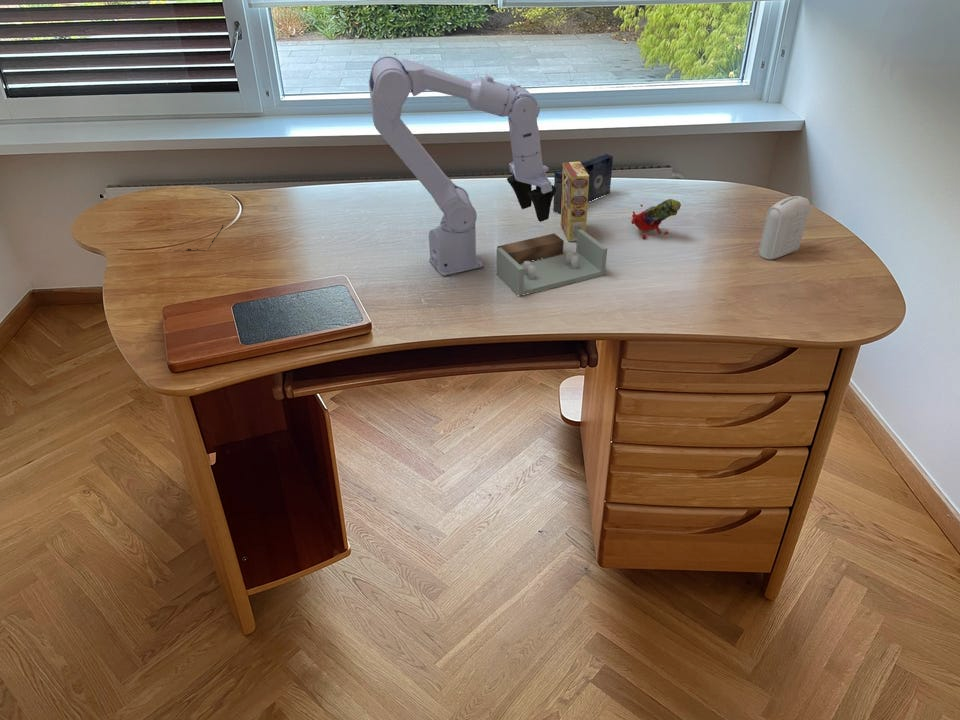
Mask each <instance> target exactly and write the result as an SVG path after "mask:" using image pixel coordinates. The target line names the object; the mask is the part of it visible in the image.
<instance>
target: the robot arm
mask: <svg viewBox="0 0 960 720" xmlns="http://www.w3.org/2000/svg"><path fill="white" fill-rule="evenodd" d="M400 60H401V61H400ZM400 60H399V59H398V58H397V57H395V56H389V55H386V56H381V57H380V58H378V59H376V61H375V62H374V63H373V64H372V66H371V71H370V75H369V80H368V86H369V87H368V88H369V95H370V96H369V97H370V107H371V117H372V122H373V125H374V128H375V129H376V130H377V132H378V133H379V134H380V135H381V137H382V138H383V139H384V140H385V141H386V143H387V144H388V145H389V146H390V148H392V150H393V151H394V152H395V154H396V155H397V156H398V157H399V158H400V159H401V160H402V162H403V163H404V164H405V166H406V167H407V169H409V170H410V172H411V173H412V174H413V175H414V176H415V177H416V179H417V180H418V181H419V182H420V183H421V185H422V186H423V187H424V188H425V190H426V191H427V192H428V193H429V194H430V196H431V197H432V199H433V200H434V202H435V203H436V204H437V206H438V208H439V210H440V211H441V212H442V213H443V216H442V218H441V220H440V224H439V225H438V226H436V227H435V228H434V227H433V228H432V229H430V231H429V232H428V245H429V259H428V261H429V263H430V264H431V265H433V267H434V268H435V269H436V271H437V272H439V273H440V275H441V276H449V275H454V274H458V273H462V272H466V271H471V270H475V269H479V268H483V267H484V263H483V262H482V261H481V260H480V259H479V258H478V257H477V239H476V238H477V237H476V232H477V231H476V230H477V229H476V221H477V217H478V215H477V211H476V209H475V207H474V206H473V204H472V202H471V200H470V197H469V194H468V192H467V190H465V188H463V187H461V186H459V185H456V184H455V183H454V182H453V180H452V179H451V178H450V177H448V176H447V175H446V174H445V172H444V171H443V170H442V169H441V168H440V166H439V165H438V164H437V162H436V161H435V160H434V159H433V158H432V156H431V155H430V154H429V153H428V151H427V150H426V149H425V147H424V146H423V145H422V143H420V141H419V140H418V138H416V136H415V135H414V134H413V132H412V131H411V130H410V129H409V127H408V126H407V124H406V123H404V121H403V120H402V118H401V116H402V110H403V105H404V104H405V102H406V101H407V100H408V97H409V95H410V92H411V94H412V96H413V97H415V96H417V95H419V94H421V93H424V91H432V92H437V93H441V94H444V95H447V96H453V97H455V98H459V99H463V100H464V99H465V100H466V101H467V104H468V105H469V107H470V108H471V109H474V110H477V111H481V112H484V113H486V114H487V113H488V114H490V115H494V116H498V117H502V118H505V117H507V120H508V128H509V131H508V133H509V140H510V148H511V153H512V162H510V163H508V166H509V172H510V173H511V174H512V175H511V176H509V177H507V178H506V181H507V183H508V184H509V185H510V186H511V188H512V190H513V191H514V194H515V196H516V198H517V199H516V200H517V202H518V204H519V206H520V208H521V210H526V209H528V208H531V207H532V205H533V207H534V210H535V215H536V218H537V220H538V222H540V223H542V222H544V221H547V220H549V218H550V212H551V211H550V210H551V206H552V201H553V200H554V194H555V192H556V187H555V186H554V184H552V181H551V180H550V179H549V178H548V175H547V173H546V172H549V167H548V166H546V165H544V164H543V158H542V148H541V147H542V146H541V139H540V132H539V131H540V130H539V126H538V117H539V115H540V109H541V108H540V106H539V104H538V101H537V100H536V98H535V97H534V96H533V95H532V93H530V92H529V91H528V90H527V88H524V87H522V86H521V85H519V84H518V85H516V84H513V83H510V85H509V84H508V85H507V84H505V83H502V82H499V81H498V82H497V81H495V80H494V78H493V76H490V75H488V74H486V75H485V77H483V76H478V77H476V78H474V79H472V80H467V79H465V78H461V77H459V76H456V75H453V74H450V73H449V72H445V71H442V70H439V69H436V68H434V67H430V66H428V65H425V64H423V63H420V62H415V61H413V60H409V59H405V58H400ZM533 186H535V189H532V187H533Z"/></svg>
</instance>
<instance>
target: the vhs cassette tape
mask: <svg viewBox="0 0 960 720" xmlns="http://www.w3.org/2000/svg"><path fill="white" fill-rule="evenodd" d="M613 159H614V157H613V155H611V154H607V153H606V154H603V155H601V156H600V155H599V156H598V157H594V158H592V159H589V160H585V161H583V162H580V163H581V164H582V166H583V167H584V168H585V170H586V172H587V173H588V175H589V189H588V202H589V201H592V200H594V199H596V198H599V197H601V196H604V195H606V196H608V195H607V194H609V195H610V194H611V184H612V173H613V171H612V170H613V163H614V162H613ZM562 171H563V169H561V170H557V171H554V179H553V180H554V181H553V182H554V183H553V186H555V187H556V192H555V194H554V196H553V200H552V201H553V207H552V210H553V212H554V211H556V212H558V213H557V214H559V213H560V214H559V215H561V198H562ZM604 197H605V196H604ZM599 199H600V198H599ZM594 201H595V200H594ZM592 202H593V201H592ZM589 203H590V202H589ZM556 212H555V213H556Z"/></svg>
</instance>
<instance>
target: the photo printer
mask: <svg viewBox="0 0 960 720" xmlns="http://www.w3.org/2000/svg"><path fill="white" fill-rule="evenodd" d="M810 209H811V204H810V201H809V199H808V198H806V197H803V196H800V195H795V196H794V195H793V196H790V197H786V198H784V199H781V200H779V201H778V202H776V203H775V204H774V205H772V206H771V207H770V208H769V209H768V211H767V214H766V218H765V222H764V226H763V230H762V235H761V239H760V243H759V247H758V254H759V256H760V257H761V258H763V259H766V260H774V259H778V258H781V257H782V256H783V257H784V256H786V255H789V254H791V253H794V252H796V251H798V250H799V249H800V246H801V244H802V239H803V235H804V231H805V228H806V224H807V221H808V215H809V213H810Z"/></svg>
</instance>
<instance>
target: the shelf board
mask: <svg viewBox="0 0 960 720" xmlns="http://www.w3.org/2000/svg"><path fill="white" fill-rule="evenodd" d="M564 241H565V240H564V239H563V238H561V237H560V236H559V235H557V234H556V233H554V232H553V233H550V234H546V235H541V236H537V237H533V238H532V237H531V238H528V239H524V240H520V241H515V242H510V243H506V244H501V245H497V246H496V247H497V248H502V249H503V250H504V251H505V252H506V253H508V254H509V255H510V256H511V257H512V258H513V259H514V260H515V261H516V262H517V263H518V264H519V265H521V264H520V263H524V261H532V260H536V261H538V260H537V259H540V260H542V259H541V258H544V259H547V257H548V258H551V257H555V255H556V256H559V255H560V254H561V255H564V246H565V245H564V244H565V242H564ZM497 248H496V249H497ZM532 262H533V261H532Z"/></svg>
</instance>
